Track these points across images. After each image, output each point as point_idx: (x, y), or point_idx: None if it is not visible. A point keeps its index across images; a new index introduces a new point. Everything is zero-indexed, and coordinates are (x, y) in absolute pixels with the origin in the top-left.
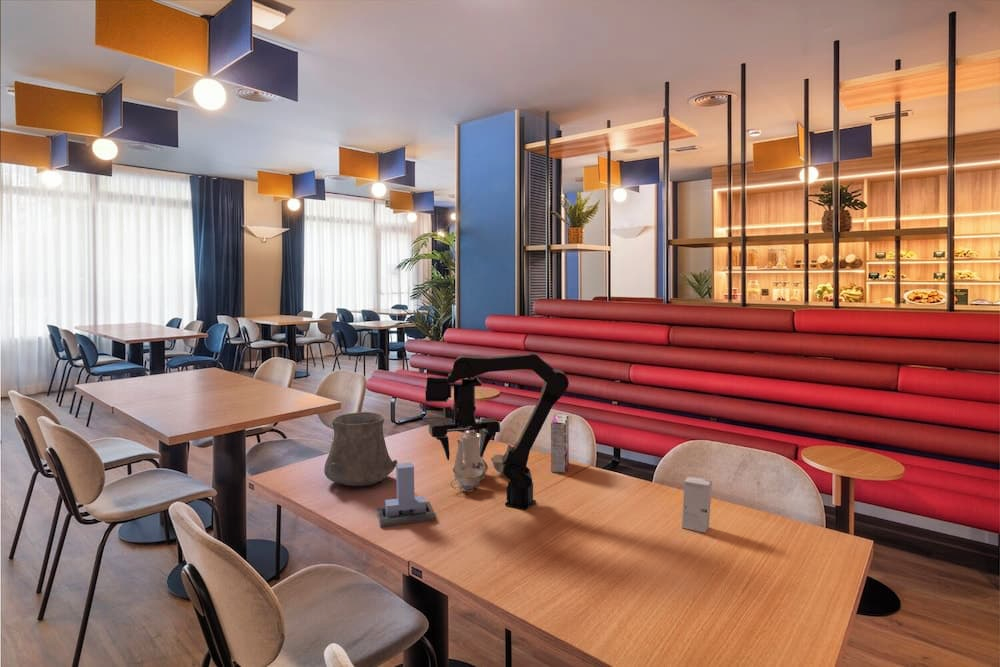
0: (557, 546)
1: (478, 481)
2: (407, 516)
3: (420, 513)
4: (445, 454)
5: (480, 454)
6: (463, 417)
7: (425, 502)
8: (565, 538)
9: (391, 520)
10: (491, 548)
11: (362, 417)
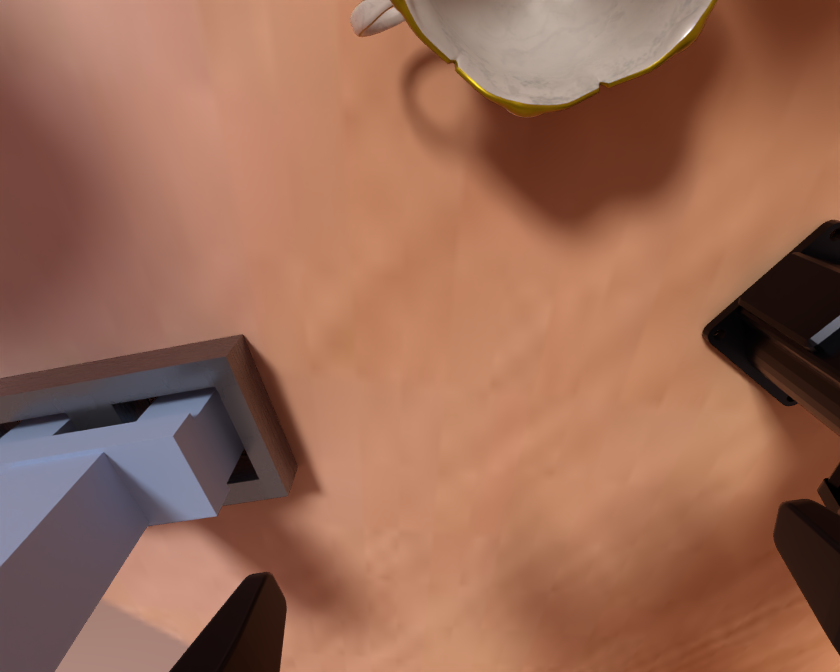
0: (730, 657)
1: (638, 16)
2: None
3: None
4: (197, 640)
5: (802, 565)
6: None
7: (214, 514)
8: (790, 623)
9: None
10: (513, 652)
11: None
